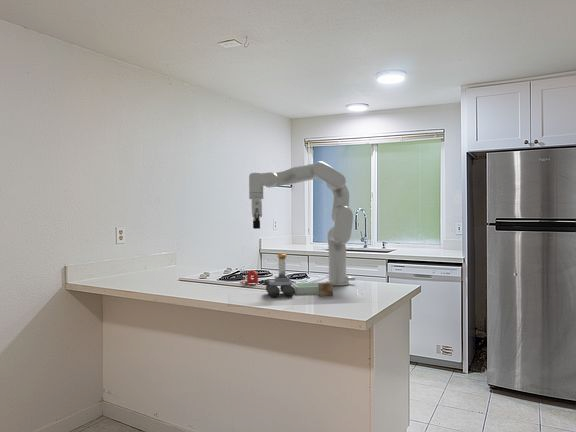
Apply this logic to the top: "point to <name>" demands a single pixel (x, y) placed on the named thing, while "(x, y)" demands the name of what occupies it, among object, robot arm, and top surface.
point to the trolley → (285, 287)
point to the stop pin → (282, 265)
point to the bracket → (249, 279)
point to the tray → (306, 288)
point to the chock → (325, 289)
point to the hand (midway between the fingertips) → (256, 228)
